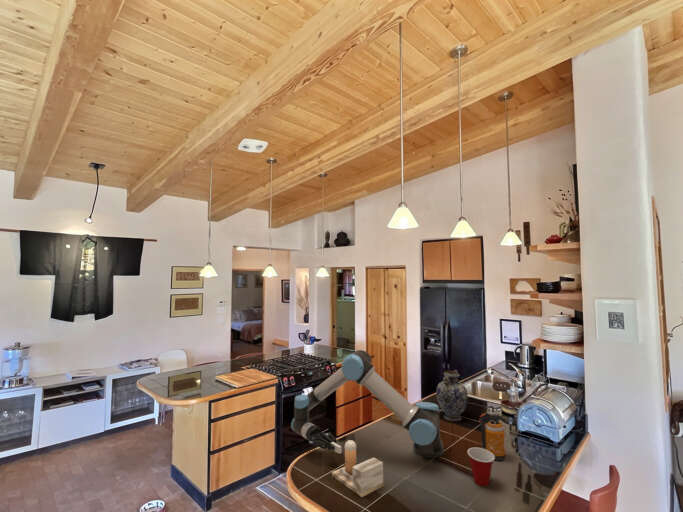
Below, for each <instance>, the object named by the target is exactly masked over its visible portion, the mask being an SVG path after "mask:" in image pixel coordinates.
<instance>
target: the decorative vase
mask: <svg viewBox="0 0 683 512" xmlns="http://www.w3.org/2000/svg"><path fill="white" fill-rule="evenodd" d="M442 374H443V376H444V377H442V378H443V380H442V381H441V382H439V383H438V384H437V386H436V389H435V390H436V392H435V394H436V400H437V403H438V406H439V409H440V410H441V411H442V412H443V413H444V415H443V419H445V420H446V421H450V422H459V421H461V420H462V416H461V414H463V413H464V411H465V409H466V408H467V404H468V398H469V397H468V395H469V394H468V389H467V387H466V386H465V385H464V384H463V383H462V382H460V381H459V379H458V378H459V377H460V376H461V375H460V373H459V371H458V370H457V369H454V370H445V371H444V372H443V373H442Z"/></svg>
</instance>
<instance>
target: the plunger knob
mask: <svg viewBox="0 0 683 512" xmlns="http://www.w3.org/2000/svg"><path fill="white" fill-rule="evenodd" d="M356 465H357V443H356V442H355V441H354V440H353V439H352V440H351V439H349V440H347V441H346V442H345V444H344V467H345V472H347V473H348V474H350V475H351V476H353V466H356Z"/></svg>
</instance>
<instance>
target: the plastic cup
mask: <svg viewBox="0 0 683 512" xmlns="http://www.w3.org/2000/svg"><path fill="white" fill-rule="evenodd" d="M467 455H468V457H469V461H470V467H471V473H472V476H473V481H474V483H475V484H476V485H478V486H479V487H487V486H489V485H490V479H491V473H492V468H493V467H492V466H493V463H494V459H495V457H494V455H493V454H492V453H491V452H490V451H488V450H485V448H483V447H476V446H475V447H470V448H468V450H467Z"/></svg>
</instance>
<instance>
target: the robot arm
mask: <svg viewBox="0 0 683 512" xmlns="http://www.w3.org/2000/svg"><path fill="white" fill-rule="evenodd" d="M370 355H371V354H369V353H368V351H366V350H362V349H357V350H355V351H354V352H351V353H350V354H348V355H347V356H346V357H345V358H344V359H343V361H342V363H341V367H340V368H339V369H338V370H336V371H334V373H332V374H331V375H330V376H329V377H328V378H326V379H325V380H324V381H322V382H321V383H320V384H319V385H317V386H315V388H314V389H313V390H311V391H309V393H308V394H299V395H296V396H295V398H294V404H293V406H294V418H292V421H291V423H290V427H291V429H292V431H293V432H295V434H298V435H300V436H302V437H303V438H304V439H306V441H308V442H309V443H308V444H309V445H311V446H315V447H318V448H319V449H320V448H321V449H323V450H327V451H330V450H331V451H333V452H335V453H337V454H342V453H343V452H342V451H343V450H342V446H341V445H340V444H338V443H337V438H336V437H335V435H333V434H332V433H331V431H328V432H327V433H326V432H324V431H322V429H321V428H320V427H319V426H317V425H315V424H313V423H312V422H310V421H309V420H310V411H311V410H312V409H313V408H315V407H316V406H317V405H319V404H320V403H321V402H322V401H324V400H325V399H326V398H327V397H329V396H330V395H331V394H332V393H334V392H335V391H336V390H338V389H339V388H340V387H342V386H343V385H344V384H345V383H346V382H348V381H354V382H355V383H356V384H358V385H359V386H364V387H366V389H368V391H370V392H371V394H372V395H374V396H375V397H376V398H377V399H378V400H379V401H380V402H381V403H382V404H383V405H384V406H386V407H387V408H388V409H389V410H390V411H391V412H392V413H393V414H394V415H395V417H397V418H398V419H399V420H400V421H402V427H403V428H404V429H405V430H407V431H408V434H409V437H410V438H411V439H410V440H412V442H413V443H412V450H413V453H414V454H416V455H417V456H419V457H421V458H427V459H437V458H440V457H442V456H444V454H445V447H444V443H443V441H442V438H441V434H440V433H441V431H440V430H441V429H440V427H441V426H440V425H441V424H440V406H439V404H436V403H433V402H427V401H423V402H422V401H419V402H416V403H415V405H412V403H410V402H409V401H408V400H407V399H406V398H405V397H404V396H403V395H401V393H399V392H398V391H397V390H396V389H395V388H394V387H393V386H392V385H391V384H389V383H388V382H387V381H386V380H385V379H384V378H383V377H382V376H381V375H379V374H378V373H377V372H376V370H375V369H376V368H375V366H374V365H373V364H372V358H371V357H372V356H370Z"/></svg>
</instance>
